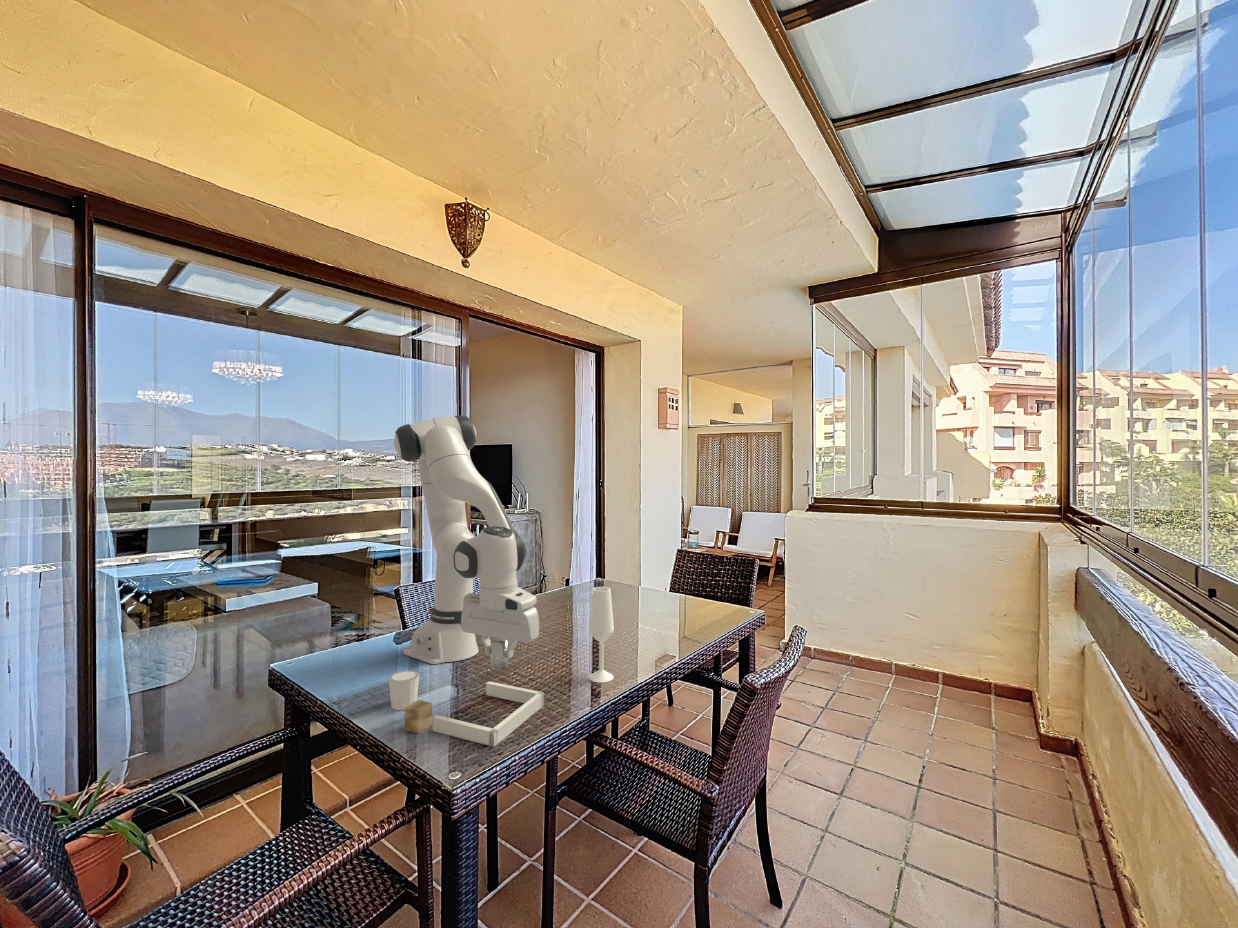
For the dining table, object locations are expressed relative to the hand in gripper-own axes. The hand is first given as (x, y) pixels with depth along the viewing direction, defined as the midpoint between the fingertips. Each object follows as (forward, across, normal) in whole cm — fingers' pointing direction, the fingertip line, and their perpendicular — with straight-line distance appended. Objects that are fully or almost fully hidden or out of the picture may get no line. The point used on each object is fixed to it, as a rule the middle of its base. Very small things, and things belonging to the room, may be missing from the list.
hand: (499, 655), depth 125 cm
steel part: (+2, 0, 0) cm, 3 cm away
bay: (+13, 0, -4) cm, 13 cm away
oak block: (+13, -11, -14) cm, 22 cm away
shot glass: (+13, -22, -8) cm, 27 cm away
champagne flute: (+14, +14, +26) cm, 33 cm away
